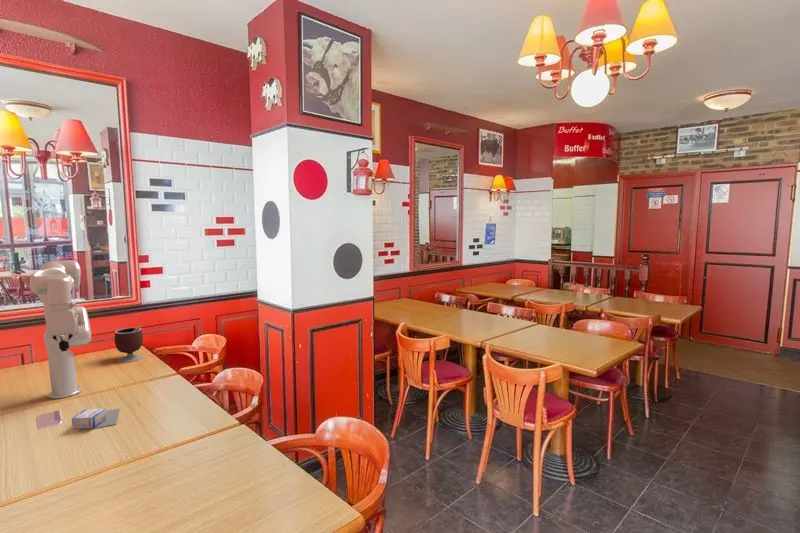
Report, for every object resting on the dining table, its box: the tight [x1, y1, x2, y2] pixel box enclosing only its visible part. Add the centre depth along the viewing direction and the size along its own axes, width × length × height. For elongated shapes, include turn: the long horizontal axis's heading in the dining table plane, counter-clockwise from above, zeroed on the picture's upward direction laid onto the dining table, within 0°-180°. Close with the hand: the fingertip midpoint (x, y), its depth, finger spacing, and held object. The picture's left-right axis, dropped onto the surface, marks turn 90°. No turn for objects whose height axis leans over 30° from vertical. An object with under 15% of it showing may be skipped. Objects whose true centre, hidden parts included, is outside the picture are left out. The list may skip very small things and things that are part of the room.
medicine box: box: [71, 408, 107, 429], centre depth 171 cm, size 8×4×9 cm
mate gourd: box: [114, 325, 144, 363], centre depth 250 cm, size 16×14×20 cm
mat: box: [78, 408, 121, 433], centre depth 175 cm, size 16×12×1 cm
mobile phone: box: [36, 410, 63, 430], centre depth 176 cm, size 8×1×15 cm
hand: (64, 350), depth 179 cm, fingers closed
